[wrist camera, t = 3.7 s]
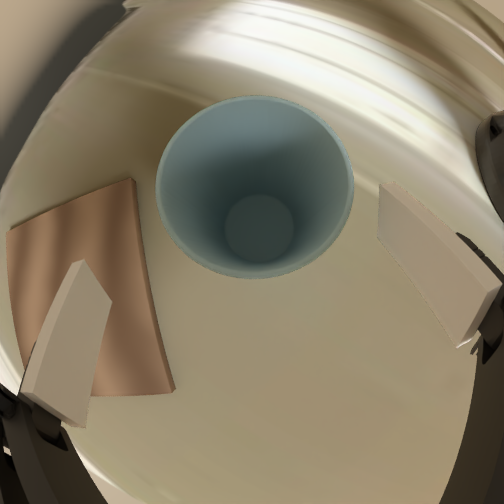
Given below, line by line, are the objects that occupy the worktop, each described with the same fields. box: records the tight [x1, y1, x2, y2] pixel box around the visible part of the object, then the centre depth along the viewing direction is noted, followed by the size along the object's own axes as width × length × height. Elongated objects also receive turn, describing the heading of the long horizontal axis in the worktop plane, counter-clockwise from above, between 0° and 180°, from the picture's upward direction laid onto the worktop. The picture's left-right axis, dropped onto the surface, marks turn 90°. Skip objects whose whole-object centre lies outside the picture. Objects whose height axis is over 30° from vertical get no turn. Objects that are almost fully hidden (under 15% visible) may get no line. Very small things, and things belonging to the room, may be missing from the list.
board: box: [6, 178, 176, 396], centre depth 20 cm, size 17×17×1 cm
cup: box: [155, 95, 354, 279], centre depth 15 cm, size 8×8×10 cm
